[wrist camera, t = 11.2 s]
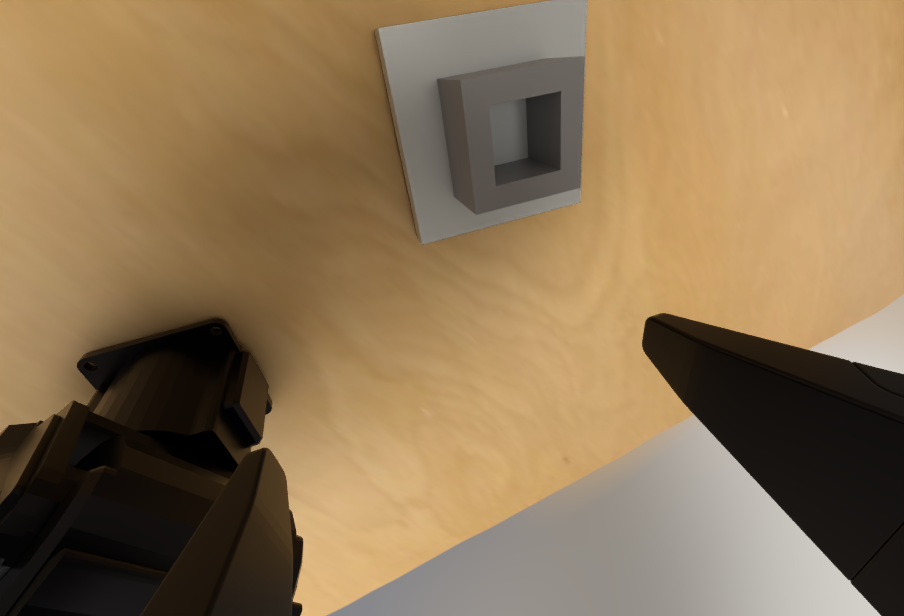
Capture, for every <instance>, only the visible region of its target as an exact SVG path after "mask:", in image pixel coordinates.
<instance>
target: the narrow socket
mask: <svg viewBox="0 0 904 616" xmlns="http://www.w3.org/2000/svg"><path fill="white" fill-rule="evenodd" d="M586 18H587V0H550V1H544V2H537V3H531V4H525V5H519V6H513V7H506V8H500V9H494V10H488V11H481V12H475V13H469V14H463V15H457V16H450V17H444V18H438V19H432V20H426V21H419V22H413V23H407V24H401V25H394V26H388V27H382V28H378V29H376V30H374V31H375V36H376V40H377V45H378V50H379V55H380V60H381V64H382V69H383V74H384V79H385V84H386V88H387V93H388V98H389V103H390V108H391V112H392V117H393V122H394V127H395V132H396V136H397V141H398V146H399V151H400V156H401V160H402V165H403V170H404V175H405V180H406V184H407V189H408V194H409V199H410V204H411V208H412V213H413V218H414V223H415V228H416V232H417V237H418V239H419V241H420V242H421V244H422V245H424V244H428V243H432V242H435V241H439V240H443V239H446V238H450V237H454V236H458V235H461V234H465V233H469V232H473V231H476V230H480V229H484V228H487V227H491V226H495V225H499V224H502V223H506V222H510V221H514V220H517V219H521V218H525V217H528V216H532V215H536V214H540V213H543V212H547V211H551V210H555V209H558V208H562V207H566V206H570V205H573V204H577V203H580V195H581V165H582V136H583V107H584V77H585V48H586Z"/></svg>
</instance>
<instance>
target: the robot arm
mask: <svg viewBox="0 0 904 616" xmlns="http://www.w3.org/2000/svg"><path fill="white" fill-rule="evenodd" d="M213 327H218V328H220V329H221V331H214V330H213V329H212V328H213ZM642 347H643V350H644V352H645V354H646V355H647V356H648V358H649V359H650V360H651V362H652V363H653V364H654V366H655V367H656V368H657V369H658V371H659V372H660V373H661V375H662V376H663V377H664V379H665V380H666V381H667V383H668V384H669V385H670V386H671V388H672V389H673V390H674V392H675V393H676V394H677V395H678V397H679V398H680V399H681V400H682V402H683V403H684V404H685V405H686V406H687V407H688V408H689V410H690V411H691V412H692V413H693V414H694V415H695V416H696V417H697V418H698V419H699V420H700V421H701V422H702V424H703V425H705V427H706V428H707V429H708V430H709V431H710V432H711V433H712V434H713V435H714V436H715V437H716V439H717V440H718V441H719V442H720V443H721V444H722V445H723V446H724V447H725V448H726V449H727V450H728V451H729V452H730V454H731V455H732V456H733V457H734V458H735V459H736V460H737V461H738V462H739V463H740V464H741V465H742V466H743V467H744V468H745V470H746V471H747V472H748V473H749V474H750V475H751V476H752V477H753V478H754V479H755V480H756V481H757V482H758V483H759V484H760V486H761V487H762V488H763V489H764V490H765V491H766V492H767V493H768V494H769V495H770V496H771V497H772V499H774V501H775V502H776V503H777V504H778V505H779V506H780V507H781V508H782V509H783V510H784V511H785V512H786V514H787V515H789V517H790V518H791V519H792V520H793V521H794V522H795V523H796V524H797V525H798V526H799V527H800V529H801V530H802V531H803V532H804V533H805V534H806V535H807V536H808V537H809V538H810V539H811V540H812V541H813V543H815V545H816V546H817V547H818V548H819V549H820V550H821V551H822V552H823V553H824V554H825V555H826V556H827V558H828V559H829V560H830V561H831V562H832V563H833V564H834V565H835V566H836V567H837V568H838V569H839V570H840V571H841V572H842V574H843V575H844V576H845V577H846V578H847V579H848V580H851V583H852V585H853V586H854V587H855V588H856V589H857V590H858V591H859V592H860V593H861V594H862V595H863V596H864V598H866V600H867V601H868V602H869V603H870V604H871V605H872V606H873V607H874V608H875V609H876V610H877V611H878V613H879V614H880V615H881V616H904V374H900V373H896V372H892V371H888V370H884V369H880V368H876V367H872V366H868V365H864V364H861V363H856V362H852V363H851V362H850V361H849V360H845V359H841V358H837V357H833V356H829V355H825V354H822V353H818V352H814V351H810V350H806V349H802V348H798V347H795V346H791V345H787V344H783V343H779V342H775V341H771V340H767V339H764V338H760V337H756V336H752V335H748V334H744V333H740V332H736V331H732V330H729V329H725V328H721V327H717V326H713V325H709V324H705V323H701V322H698V321H694V320H690V319H686V318H682V317H678V316H674V315H670V314H667V313H660V314H657V315H654V316H651V317H649V318H647V320H646V321H645V327H644V333H643V340H642ZM88 362H92V363H95V364H97V366H93V365H90V364H89V363H88ZM77 368H78V369H79V371H80V372H81V373H82V374H83V375H84V376H85V378H86V379H87V380H88V381H89V382H90V383H91V384H92V385H93V386H94V388H95V389H96V390H97V391H96V393H95V394H94V396H93V397H92V399H91V400H90V402H89V404H88V405H87V406H85V405H83V404H81V403H78V402H76V401H72V402H71V403H69V404H68V405H67V406H66V407H65V408H64V409H63V410H61V411H60V412H59V413H58V414H57V415H56V414H53V415H52V416H51V417H49V418H48V419H47V420H45V421H44V422H43V421H41V420H40V421H39V422H38V423H30V424H18V425H9V426H8V427H7V428H5V429H4V430H3V431H2V432H1V433H0V616H300V615H301V612H302V605H301V604H300V603H296V602H292V601H293V598H294V595H295V591H296V588H297V583H298V578H299V574H300V570H301V566H302V557H303V538H302V537H301V536H298V535H296V528H295V523H294V519H293V514H292V512H291V510H290V509H289V503H288V491H287V481H286V476H285V473H284V471H283V469H282V467H281V466H280V464H279V463H278V461H277V459H276V458H275V456H274V455H273V453H272V452H271V450H270V449H268V448H262V449H259V450H256V451H253V452H251V447H252V446H255V445H258V444H259V443H260V442H261V440H262V438H263V429H264V421H265V415H266V414H268V413H270V412H271V409H272V401H271V399H270V397H269V396H268V384H267V382H266V380H265V379H264V377H263V375H262V373H261V371H260V370H259V368H258V366H257V364H256V362H255V361H254V359H253V357H252V355H251V353H249V352H247V351H245V350H244V351H243V350H242V348H241V346H240V344H239V343H238V341H237V339H236V337H235V336H234V334H233V332H232V330H231V328H230V327H229V325H228V324H227V322H226V321H224V320H222V319H218V318H216V319H210V320H207V321H203V322H199V323H196V324H192V325H189V326H185V327H181V328H178V329H174V330H170V331H167V332H163V333H160V334H156V335H152V336H149V337H145V338H141V339H138V340H134V341H131V342H127V343H123V344H120V345H116V346H112V347H109V348H105V349H102V350H98V351H94V352H91V353H87V354H85V355H83V357H82V358H81V359H80V360H79V362H78V363H77Z"/></svg>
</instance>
